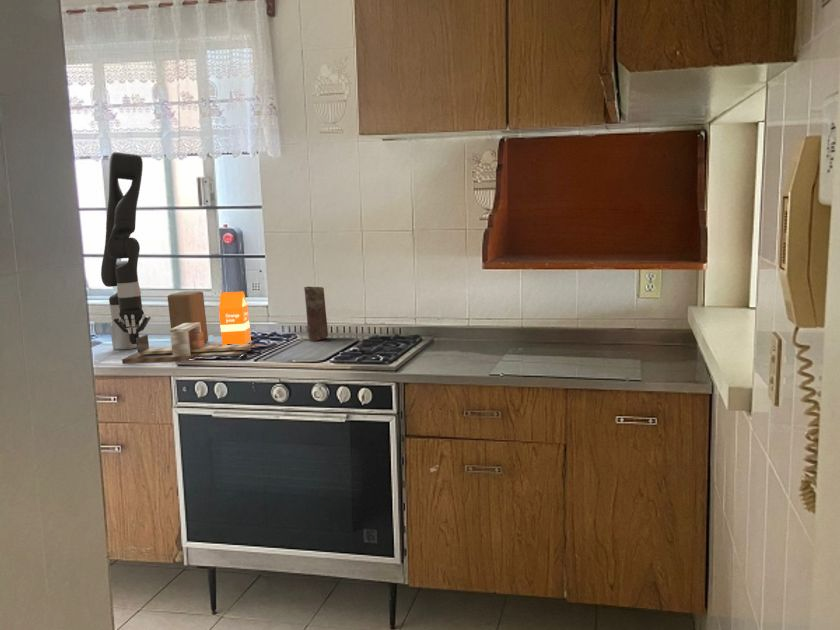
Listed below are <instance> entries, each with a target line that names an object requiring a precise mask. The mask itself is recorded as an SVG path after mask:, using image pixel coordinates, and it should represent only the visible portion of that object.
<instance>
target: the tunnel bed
mask: <svg viewBox="0 0 840 630" xmlns="http://www.w3.org/2000/svg"><path fill="white" fill-rule="evenodd" d="M198 332H201V325H200V322H196V323H183V324H181V325H179V326H177V327H174V328H172V329H171V328H169V335H170V342H171V343H170V344H171V348H172V353H164V354H143V355H139V352H137V351H136V352H134V353H132V354H130V355H128V356H126V357H124V358H122V359H121V362H122V365H123V364H139V363H140V364H141V363H143V364H144V363H163V362H164V363H166V362H167V363H169V362H182V361H181V360H189V359H193V358H195V357H212V356H241V355H242V354H243V353H245V352H246V351H248V350H249V349H251V348H253V346H252V347H251V348H249V349H248V350H228V351H206V352H190V343H189V334H188V333H198ZM189 361H190V360H189Z"/></svg>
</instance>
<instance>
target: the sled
mask: <svg viewBox="0 0 840 630" xmlns="http://www.w3.org/2000/svg"><path fill="white" fill-rule="evenodd" d="M188 334H189V343H190V352H206V351H228V350H248V349H249V348H251V347H252V348H253V345H252V343H250V344H239V345H222V344H221V345H205V343H204V335H203V332H198V333H188ZM136 344H137V348H136V352H139V355H143V354H164V353H172V347H161V348H150V345H149V335H148V334H143V335H141V336H140V335H139V337H138V338H136Z"/></svg>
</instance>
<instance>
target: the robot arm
mask: <svg viewBox="0 0 840 630" xmlns="http://www.w3.org/2000/svg"><path fill="white" fill-rule="evenodd" d="M143 162H144V161H143V158H142V156H141V155H139V154H133V153H126V152H116V151H114V152H112V153H111V154H110V157H109V163H108V164H109V166H108V167H109V168H108V169H109V170H108V184H109V185H108V200H107V201H108V202H107V210H106V222H105V240H104V241H105V243H104V250H103V257H102V262H101V268H100V276H101V278H100V279H101V281H102V284H103V285H104V286H105V287H109V288H111V287H112V288H113V287H116V293H113V294H112V295H110V297H109V298H108V301H109V309H110V317H111V318H110V319H111V324H110V325H109V328H110V336H111V343H112V345H111V346H112V350H122V351H123V350H130V349H137V344H136V338H138V337H140V333H141V332H142V331H144V330H145V328H146V327H147V325H148V324H149V321H150V320H151V316H148V315H146V314H145V313H144V310H143V304H142V295H141V293H142V291H141V288H140V284H139V276H138V263H139V262H138V261H139V256H140V249H141V248H140V247H141V246H140V243H139V241H138V240H137V238H135V237H131V235H132V234H133V233H134V232H135V230H136V220H137V219H136V218H137V207H138V200H139V195H140V190H141V184H142V176H143V169H144V168H143V167H144V166H143ZM119 179H121V180H129V181H131V184H130V187H129V189H128V190H127V191H126V193H125V194H124V193H123V192H122V189H121V186H120V183H119ZM119 259H127V260H119ZM117 260H118V261H117ZM140 321H141V323H140Z"/></svg>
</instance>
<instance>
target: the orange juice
mask: <svg viewBox="0 0 840 630" xmlns="http://www.w3.org/2000/svg"><path fill="white" fill-rule="evenodd" d="M219 294H220V295H219V306H218V313H219V314H218V315H219V316H218V317H219V324H220V325H219V326H220V333H221V334H220V335H221V343H222V344H221V345H227V344H247V343H248V342H249V341H251V342H252V339H251V337H252V336H251V328H250V327H251V325H250V316H249V307H248V306H249V305H248V302H247V299H246V296H245V293H244V291H229V292H220V293H219Z"/></svg>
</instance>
